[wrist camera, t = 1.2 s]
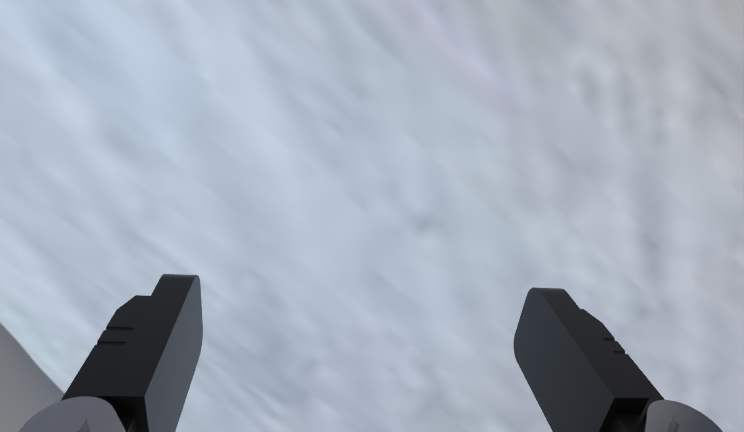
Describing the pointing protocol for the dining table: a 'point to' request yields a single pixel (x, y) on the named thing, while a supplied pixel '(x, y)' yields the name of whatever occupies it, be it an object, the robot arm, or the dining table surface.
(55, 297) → the dining table surface
